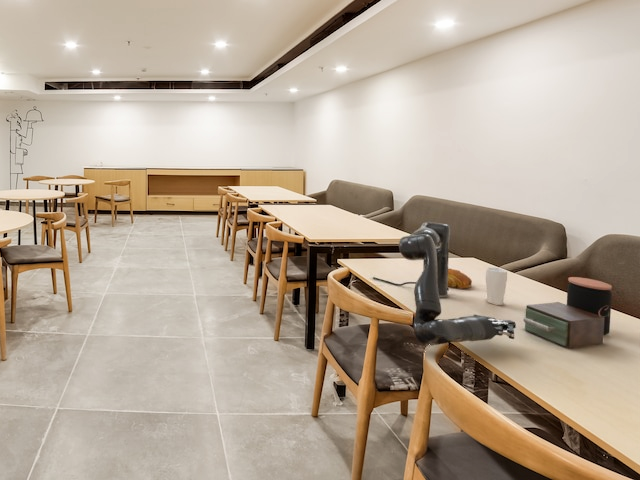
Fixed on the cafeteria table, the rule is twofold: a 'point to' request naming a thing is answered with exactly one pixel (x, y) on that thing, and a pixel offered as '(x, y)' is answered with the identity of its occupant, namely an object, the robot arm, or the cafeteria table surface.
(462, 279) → the croissant
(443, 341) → the robot arm
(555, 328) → the drawer
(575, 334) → the cabinet
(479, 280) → the cafeteria table surface
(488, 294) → the white cup
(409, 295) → the cafeteria table surface
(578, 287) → the coffee jar
